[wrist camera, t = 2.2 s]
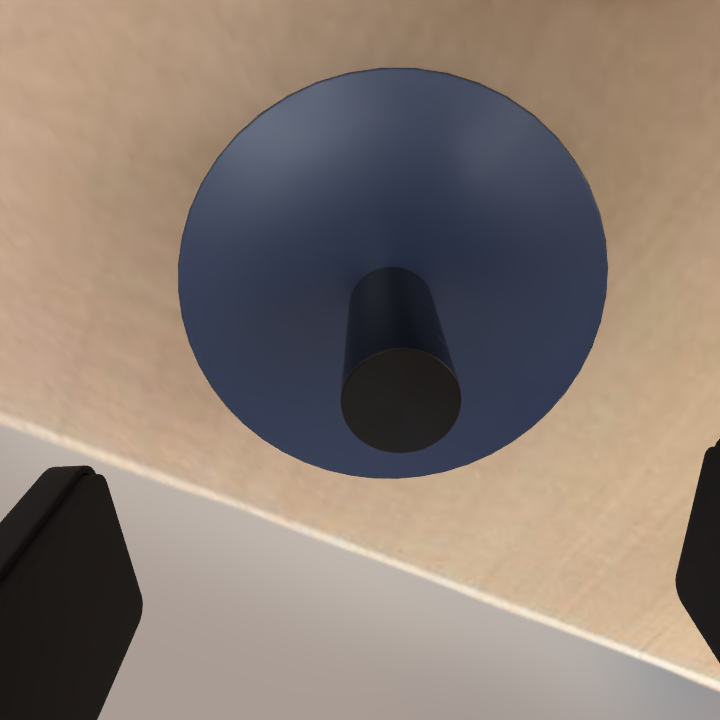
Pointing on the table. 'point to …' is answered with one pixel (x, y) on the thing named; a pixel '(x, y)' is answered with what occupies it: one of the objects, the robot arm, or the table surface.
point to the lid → (392, 273)
